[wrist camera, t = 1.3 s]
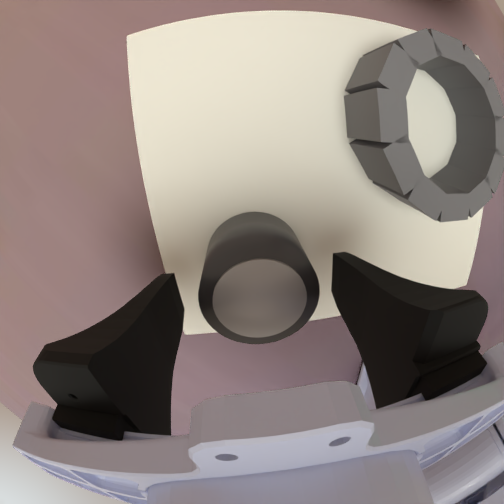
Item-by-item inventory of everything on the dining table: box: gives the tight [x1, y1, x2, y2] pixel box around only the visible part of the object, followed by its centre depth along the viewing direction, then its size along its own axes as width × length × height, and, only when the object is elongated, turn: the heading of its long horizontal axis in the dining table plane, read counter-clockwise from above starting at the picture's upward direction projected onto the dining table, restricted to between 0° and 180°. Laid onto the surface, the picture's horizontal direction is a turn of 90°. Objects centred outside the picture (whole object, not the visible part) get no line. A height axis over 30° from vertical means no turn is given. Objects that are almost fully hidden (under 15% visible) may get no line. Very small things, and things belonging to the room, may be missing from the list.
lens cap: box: [198, 212, 320, 344], centre depth 13 cm, size 5×5×4 cm
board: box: [127, 11, 504, 335], centre depth 12 cm, size 18×22×4 cm
